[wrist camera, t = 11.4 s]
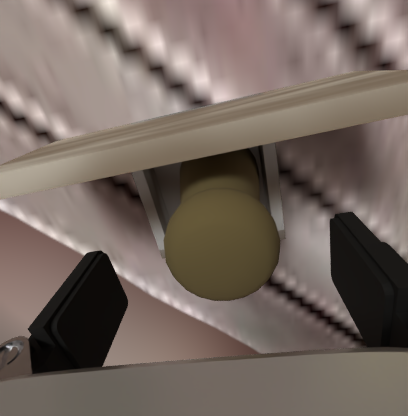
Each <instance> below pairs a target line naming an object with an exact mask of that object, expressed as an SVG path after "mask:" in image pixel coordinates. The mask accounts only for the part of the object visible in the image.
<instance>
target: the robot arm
mask: <svg viewBox="0 0 408 416" xmlns="http://www.w3.org/2000/svg"><path fill="white" fill-rule="evenodd" d="M330 254H331V277H332V280H333V283H334V285H335V287H336V289H337V290H338V292H339V294H340V296H341V298H342V300H343V302H344V304H345V305H346V307H347V309H348V311H349V313H350V315H351V317H352V319H353V321H354V322H355V324H356V326H357V328H358V330H359V332H360V334H361V336H362V337H363V339H364V341H365V343H366V345H367V347H362V348H342V349H325V350H308V351H294V352H281V353H267V354H254V355H241V356H228V357H214V358H202V359H191V360H190V359H189V360H177V361H165V362H153V363H140V364H129V365H118V366H106V367H102V366H103V363H104V361H105V359H106V357H107V354H108V352H109V349H110V347H111V345H112V342H113V340H114V337H115V335H116V333H117V330H118V328H119V325H120V323H121V321H122V318H123V316H124V314H125V311H126V309H127V306H128V299H127V296H126V294H125V292H124V290H123V288H122V285H121V284H120V281H119V279H118V277H117V274H116V272H115V270H114V268H113V266H112V264H111V261H110V259H109V257H108V255H107V254H106V253H103V252H102V251H94V252H89V253H87V254H86V255H85V256H84V257H83V259H82V260H81V261H80V262H79V264H78V265H77V266H76V268H75V269H74V270H73V272H72V273H71V274H70V275H69V277H68V278H67V279H66V281H65V282H64V283H63V284H62V286H61V287H60V288H59V290H58V291H57V292H56V293H55V295H54V296H53V297H52V298H51V300H50V301H49V302H48V304H47V305H46V306H45V307H44V309H43V310H42V311H41V313H40V314H39V315H38V316H37V318H36V319H35V320H34V322H33V323H32V324H31V325H30V327H29V328H28V330H29V332H30V333H31V334H32V335H31V336H30V338H29V339H28V338H26V337H24V336H18V337H15V338H12V339H10V340H8V341H6V342H4V343H2V344H1V345H0V416H408V264H407V263H406V262H405V261H404V260H403V259H402V258H401V257H400V255H399V254H398V253H397V252H396V251H395V250H394V249H393V248H392V247H391V246H390V245H388V244H387V243H385V242H381V241H380V240H379V239H378V238H377V237H376V236H375V235H374V234H373V233H372V232H371V231H370V230H369V229H368V228H367V227H366V226H365V225H364V224H363V223H362V221H361V220H360V219H359V218H358V217H357V216H356V215H355V214H354V213H353V212H346V213H340V214H335V217H334V218H332V219H330Z"/></svg>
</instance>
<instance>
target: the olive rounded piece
mask: <svg viewBox="0 0 408 416" xmlns="http://www.w3.org/2000/svg"><path fill="white" fill-rule="evenodd" d="M163 241H164V249H165V258H166V263H167V265H168V267H169V269H170V271H171V273H172V275H173V276H174V278H175V279H176V280H177V281H178V282H179V283H180V284H181V285H182V286H183V287H184V288H185V289H186V290H187V291H189V292H191V293H193V294H195V295H197V296H199V297H201V298H206V299H210V300H214V301H230V300H235V299H239V298H243V297H246V296H248V295H250V294H252V293H254V292H255V291H257V290H258V289H260V288H261V287H262V286H263V285H264V284H265V283H266V282H267V281H268V280H269V278H270V277H271V275H272V273H273V271H274V269H275V268H276V266H277V264H278V260H279V252H280V237H279V233H278V230H277V226H276V223H275V221H274V219H273V217H272V216H271V214H270V213H269V212H268V210H267V209H266V208H265V206H264V205H263V204H262V203H261V202H260V193H259V171H258V166H257V162H256V158H255V156H254V155H253V153H252V152H251V151H250V149H249V148H245V149H240V150H236V151H231V152H226V153H221V154H216V155H212V156H207V157H202V158H197V159H192V160H188V161H183V162H182V163H181V167H180V205H179V207H178V208H177V209H176V211H175V212H174V214H173V215H172V216H171V218H170V220H169V222H168V225H167V229H166V233H165V237H164V240H163Z"/></svg>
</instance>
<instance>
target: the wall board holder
mask: <svg viewBox="0 0 408 416" xmlns="http://www.w3.org/2000/svg"><path fill="white" fill-rule="evenodd" d="M403 115H408V70H392V71H353V72H349V73H345V74H340V75H336V76H332V77H328V78H323V79H319V80H315V81H311V82H306V83H302V84H298V85H294V86H289V87H285V88H281V89H276V90H272V91H268V92H264V93H259V94H255V95H251V96H247V97H242V98H238V99H234V100H230V101H225V102H221V103H217V104H212V105H208V106H204V107H200V108H195V109H191V110H187V111H183V112H178V113H174V114H170V115H166V116H161V117H157V118H153V119H148V120H144V121H140V122H136V123H131V124H127V125H123V126H119V127H114V128H110V129H106V130H102V131H97V132H93V133H89V134H84V135H80V136H76V137H72V138H67V139H63V140H59V141H56V142H54V143H51V144H49V145H46V146H44V147H42V148H39V149H37V150H35V151H32V152H30V153H28V154H25V155H23V156H20V157H18V158H16V159H13V160H11V161H9V162H6V163H4V164H2V165H0V200H1V199H6V198H10V197H15V196H20V195H25V194H30V193H34V192H39V191H44V190H49V189H53V188H58V187H63V186H68V185H73V184H77V183H82V182H87V181H92V180H97V179H101V178H106V177H111V176H116V175H121V174H125V173H130V172H131V173H132V176H133V179H134V181H135V184H136V187H137V190H138V192H139V195H140V198H141V201H142V204H143V206H144V209H145V212H146V215H147V217H148V220H149V223H150V226H151V228H152V231H153V234H154V237H155V240H156V242H157V245H158V248H159V251H160V253H161V256H162V258H165V249H164V241H163V240H164V237H165V233H166V229H167V225H168V222H169V220H170V218H171V216H172V215H173V214H174V212H175V211H176V209H177V208H178V207H179V205H180V167H181V163H182V162H183V161H188V160H192V159H197V158H202V157H207V156H212V155H216V154H221V153H226V152H231V151H236V150H240V149H245V148H249V149H250V151H251V152H252V153H253V155H254V156H255V158H256V162H257V166H258V171H259V193H260V202H261V203H262V204H263V205H264V206H265V208H266V209H267V210H268V212H269V213H270V214H271V216H272V217H273V219H274V221H275V223H276V226H277V230H278V233H279V237H280V239H285V230H284V220H283V211H282V201H281V192H280V182H279V173H278V163H277V153H276V144H275V142H279V141H283V140H288V139H293V138H298V137H303V136H307V135H312V134H317V133H322V132H327V131H331V130H336V129H341V128H346V127H351V126H355V125H360V124H365V123H370V122H374V121H379V120H384V119H389V118H394V117H398V116H403Z"/></svg>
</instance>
